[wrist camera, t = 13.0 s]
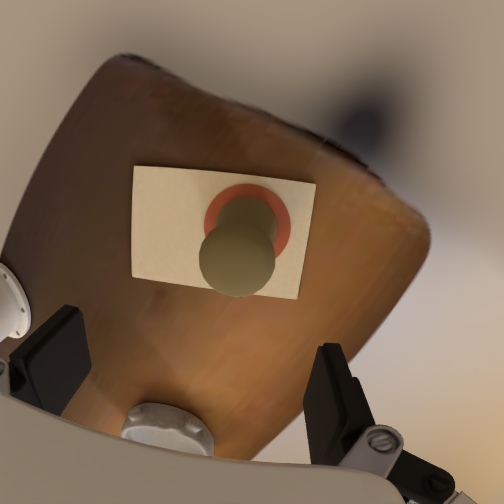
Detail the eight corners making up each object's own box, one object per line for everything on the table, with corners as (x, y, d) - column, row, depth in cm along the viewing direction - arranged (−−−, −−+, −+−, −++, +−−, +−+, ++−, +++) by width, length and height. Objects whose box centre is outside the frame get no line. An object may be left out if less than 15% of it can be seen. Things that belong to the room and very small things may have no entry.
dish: (205, 462, 43) (201, 485, 38) (127, 436, 42) (118, 457, 37) (228, 415, 38) (224, 441, 34) (132, 383, 38) (120, 407, 33)
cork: (232, 185, 29) (211, 202, 18) (289, 215, 29) (301, 249, 19) (204, 240, 30) (173, 285, 20) (259, 268, 31) (254, 325, 21)
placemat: (133, 275, 33) (131, 277, 32) (135, 165, 29) (133, 165, 28) (296, 298, 32) (296, 300, 32) (315, 183, 29) (316, 184, 28)
